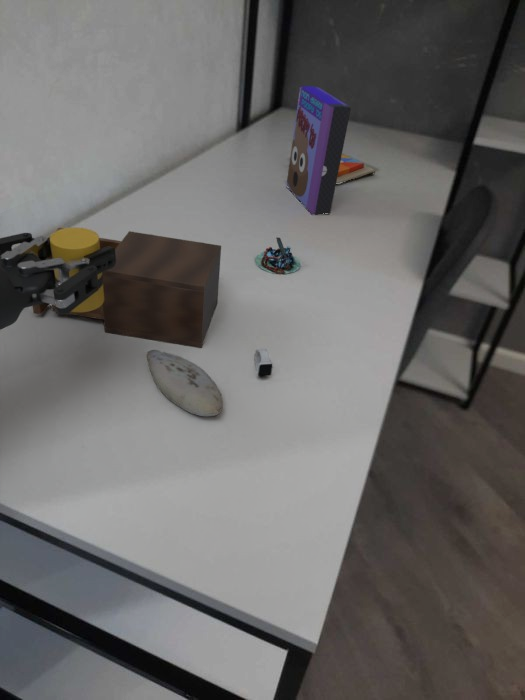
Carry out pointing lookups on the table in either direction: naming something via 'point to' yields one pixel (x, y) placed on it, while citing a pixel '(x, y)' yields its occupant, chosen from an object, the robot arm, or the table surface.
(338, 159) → the cereal box
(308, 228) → the table surface
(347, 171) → the wooden puzzle
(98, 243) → the tape canister
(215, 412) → the decorative stone
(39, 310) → the drawer
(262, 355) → the smartwatch
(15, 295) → the robot arm
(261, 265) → the dish
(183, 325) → the cabinet
